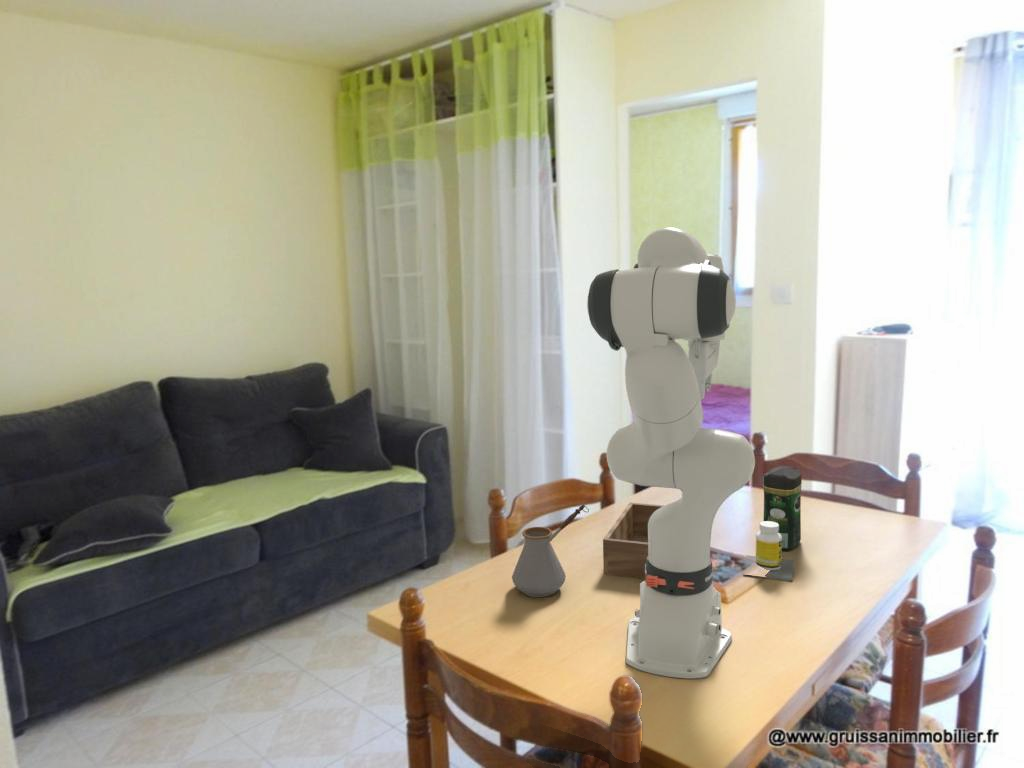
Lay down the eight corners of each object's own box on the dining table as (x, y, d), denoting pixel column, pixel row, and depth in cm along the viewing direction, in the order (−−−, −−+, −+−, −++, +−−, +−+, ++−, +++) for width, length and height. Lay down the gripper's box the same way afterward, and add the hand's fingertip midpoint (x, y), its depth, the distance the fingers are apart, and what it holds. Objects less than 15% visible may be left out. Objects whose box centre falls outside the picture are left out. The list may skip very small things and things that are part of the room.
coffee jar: (771, 534, 181) (772, 461, 178) (804, 540, 177) (806, 466, 174) (757, 546, 174) (758, 471, 171) (791, 553, 169) (793, 476, 166)
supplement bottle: (783, 572, 158) (784, 528, 157) (756, 570, 159) (757, 527, 158) (779, 561, 163) (780, 520, 162) (753, 560, 164) (754, 519, 163)
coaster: (792, 581, 155) (792, 578, 155) (743, 575, 159) (743, 572, 159) (793, 562, 164) (793, 560, 164) (746, 557, 168) (746, 555, 168)
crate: (666, 581, 157) (666, 546, 156) (603, 573, 162) (602, 539, 161) (686, 538, 181) (686, 507, 179) (630, 532, 186) (629, 502, 185)
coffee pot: (539, 606, 148) (536, 536, 146) (501, 590, 156) (498, 523, 154) (607, 573, 162) (605, 509, 160) (568, 560, 171) (567, 498, 168)
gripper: (712, 336, 145) (712, 404, 148) (723, 326, 164) (723, 387, 166) (680, 336, 148) (680, 403, 150) (695, 326, 167) (695, 386, 169)
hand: (703, 394), depth 158 cm, fingers open, 8 cm apart
